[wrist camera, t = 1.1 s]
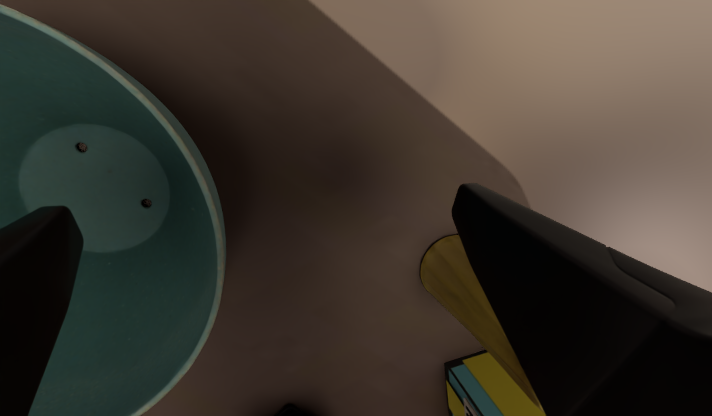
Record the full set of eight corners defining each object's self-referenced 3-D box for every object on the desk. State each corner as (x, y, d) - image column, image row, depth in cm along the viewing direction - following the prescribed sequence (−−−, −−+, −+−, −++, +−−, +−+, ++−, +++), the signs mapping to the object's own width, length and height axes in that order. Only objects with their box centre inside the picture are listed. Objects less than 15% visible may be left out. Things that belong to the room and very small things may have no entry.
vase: (411, 250, 31) (521, 362, 18) (474, 223, 32) (625, 311, 18) (429, 307, 33) (539, 445, 20) (487, 280, 34) (632, 396, 20)
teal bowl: (-5, 336, 25) (-232, 532, 14) (-139, 53, 20) (-711, -18, 8) (262, 282, 29) (260, 402, 17) (211, 30, 23) (158, -42, 12)
